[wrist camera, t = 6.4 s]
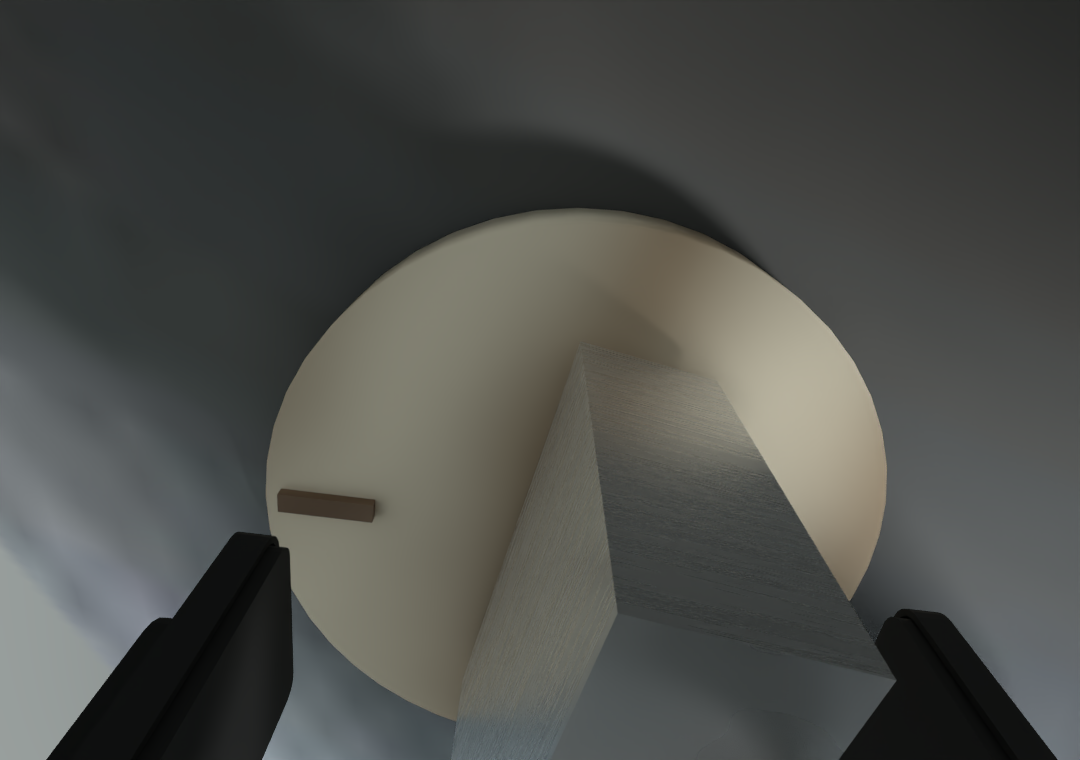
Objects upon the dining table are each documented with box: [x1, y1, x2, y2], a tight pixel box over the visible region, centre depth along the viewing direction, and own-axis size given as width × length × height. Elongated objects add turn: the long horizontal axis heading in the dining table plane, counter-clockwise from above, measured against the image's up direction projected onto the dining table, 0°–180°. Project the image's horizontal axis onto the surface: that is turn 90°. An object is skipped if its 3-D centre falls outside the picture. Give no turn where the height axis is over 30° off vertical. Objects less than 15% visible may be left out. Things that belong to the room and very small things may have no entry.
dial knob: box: [451, 341, 897, 760], centre depth 10 cm, size 10×2×6 cm, turn 163°
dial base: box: [266, 208, 887, 721], centre depth 13 cm, size 12×12×2 cm
